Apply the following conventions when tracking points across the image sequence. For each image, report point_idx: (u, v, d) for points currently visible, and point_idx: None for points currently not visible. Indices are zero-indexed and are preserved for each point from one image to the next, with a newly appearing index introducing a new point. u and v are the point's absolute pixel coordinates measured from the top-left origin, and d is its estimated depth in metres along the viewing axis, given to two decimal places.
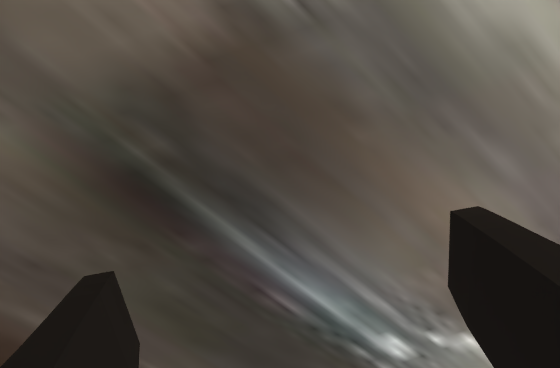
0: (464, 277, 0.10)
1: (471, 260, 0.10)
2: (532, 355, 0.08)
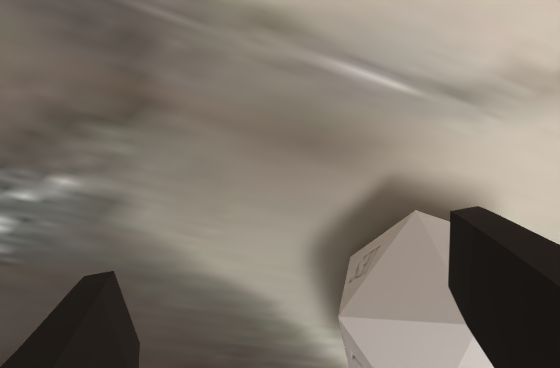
0: (464, 277, 0.10)
1: (471, 260, 0.10)
2: (532, 355, 0.08)
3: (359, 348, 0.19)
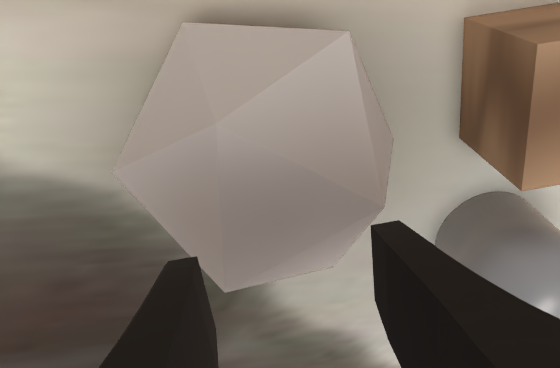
0: (383, 292, 0.10)
1: (386, 275, 0.10)
2: None
3: (142, 204, 0.15)
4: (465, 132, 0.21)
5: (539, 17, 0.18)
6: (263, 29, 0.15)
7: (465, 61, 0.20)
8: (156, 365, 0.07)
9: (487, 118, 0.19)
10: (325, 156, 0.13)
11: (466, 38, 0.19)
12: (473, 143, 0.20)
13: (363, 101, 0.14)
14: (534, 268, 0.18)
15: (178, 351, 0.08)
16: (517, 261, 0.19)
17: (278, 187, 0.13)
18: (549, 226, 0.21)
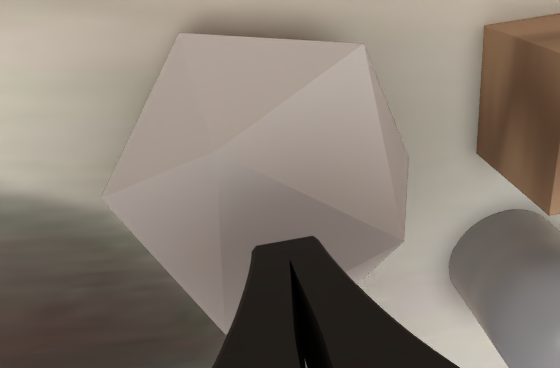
0: None
1: (294, 292, 0.10)
2: None
3: (134, 233, 0.14)
4: (483, 147, 0.19)
5: None
6: (268, 41, 0.13)
7: (484, 72, 0.18)
8: (285, 341, 0.07)
9: (510, 134, 0.17)
10: (339, 186, 0.12)
11: (485, 47, 0.18)
12: (492, 160, 0.19)
13: (380, 122, 0.13)
14: None
15: (294, 330, 0.08)
16: (542, 289, 0.18)
17: (286, 221, 0.11)
18: None
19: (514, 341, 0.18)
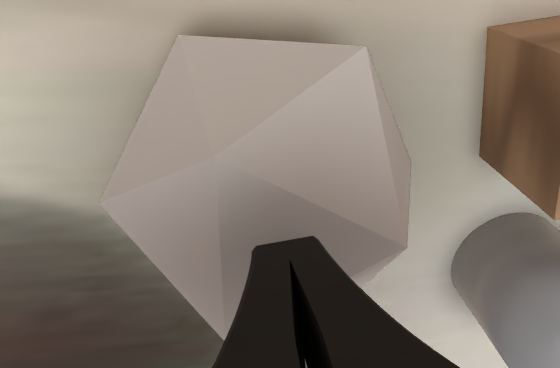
0: None
1: (294, 292, 0.10)
2: None
3: (132, 239, 0.13)
4: (486, 150, 0.19)
5: None
6: (269, 43, 0.13)
7: (487, 74, 0.18)
8: (285, 341, 0.07)
9: (514, 138, 0.17)
10: (341, 191, 0.11)
11: (489, 49, 0.18)
12: (496, 163, 0.19)
13: (382, 126, 0.12)
14: None
15: (294, 330, 0.08)
16: (546, 294, 0.17)
17: (287, 227, 0.11)
18: None
19: (517, 347, 0.17)
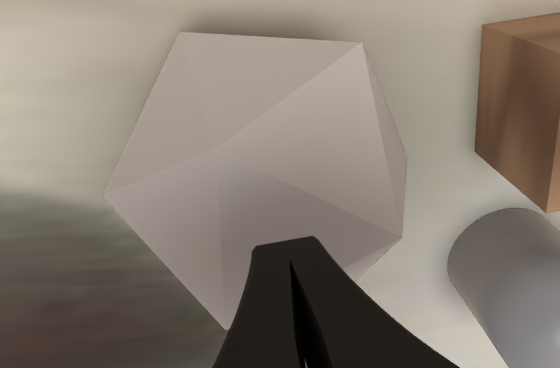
0: None
1: (294, 292, 0.10)
2: None
3: (135, 230, 0.14)
4: (481, 146, 0.20)
5: None
6: (268, 39, 0.13)
7: (482, 71, 0.18)
8: (285, 341, 0.07)
9: (507, 133, 0.17)
10: (337, 182, 0.12)
11: (483, 47, 0.18)
12: (490, 158, 0.19)
13: (378, 120, 0.13)
14: (558, 294, 0.17)
15: (295, 329, 0.08)
16: (539, 286, 0.18)
17: (285, 218, 0.12)
18: None
19: (511, 338, 0.18)
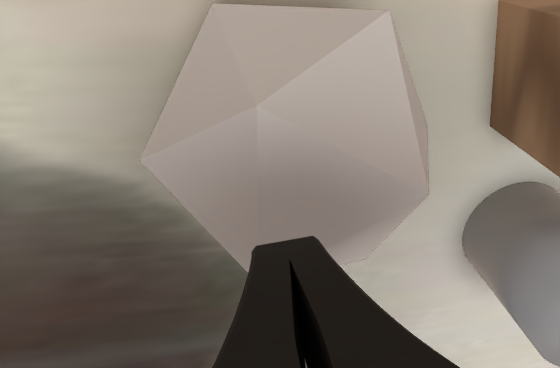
0: None
1: (295, 292, 0.10)
2: None
3: (171, 193, 0.14)
4: (497, 120, 0.20)
5: None
6: (299, 9, 0.14)
7: (498, 45, 0.19)
8: (285, 341, 0.07)
9: (523, 104, 0.18)
10: (369, 141, 0.12)
11: (500, 21, 0.19)
12: (506, 131, 0.20)
13: (405, 84, 0.13)
14: None
15: (294, 329, 0.08)
16: (554, 253, 0.18)
17: (320, 174, 0.12)
18: None
19: (527, 303, 0.18)
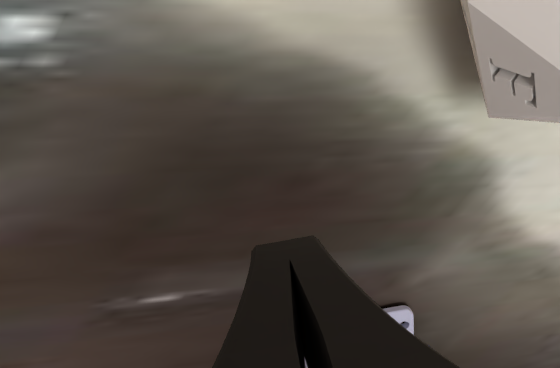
0: None
1: (294, 292, 0.10)
2: None
3: (506, 32, 0.14)
4: None
5: None
6: None
7: None
8: (285, 341, 0.07)
9: None
10: None
11: None
12: None
13: None
14: None
15: (294, 330, 0.08)
16: None
17: None
18: None
19: None
